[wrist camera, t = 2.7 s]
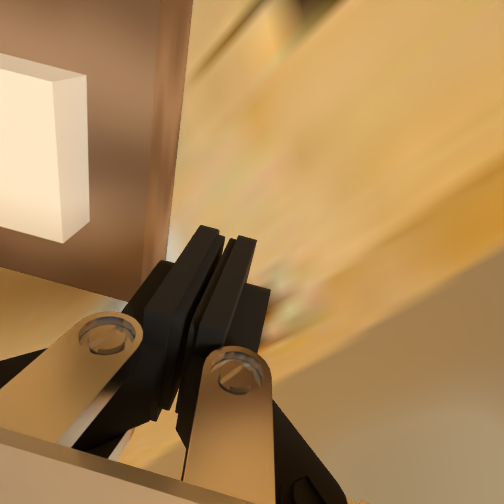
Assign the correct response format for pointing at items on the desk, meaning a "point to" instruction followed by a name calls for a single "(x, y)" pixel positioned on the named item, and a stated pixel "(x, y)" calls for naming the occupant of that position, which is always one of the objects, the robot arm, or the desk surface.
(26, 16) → the brown wooden board
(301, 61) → the desk surface
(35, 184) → the cream flat block
